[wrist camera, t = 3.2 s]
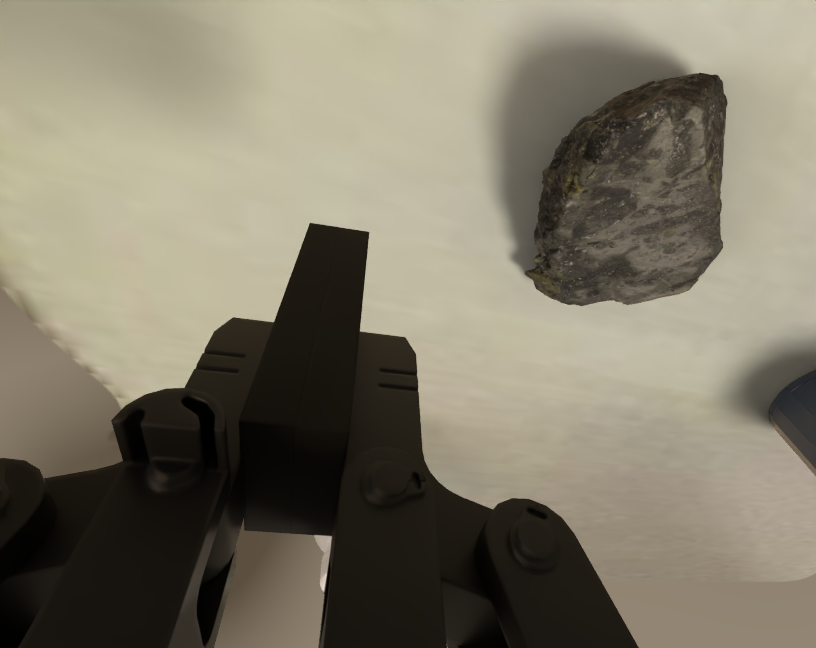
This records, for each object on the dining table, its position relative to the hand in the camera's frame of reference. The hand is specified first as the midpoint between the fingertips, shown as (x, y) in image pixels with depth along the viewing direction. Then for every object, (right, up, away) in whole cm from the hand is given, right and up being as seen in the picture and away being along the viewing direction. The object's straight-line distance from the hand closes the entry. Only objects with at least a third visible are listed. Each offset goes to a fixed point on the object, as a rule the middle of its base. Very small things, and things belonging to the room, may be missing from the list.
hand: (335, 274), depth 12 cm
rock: (+13, +6, +11) cm, 18 cm away
